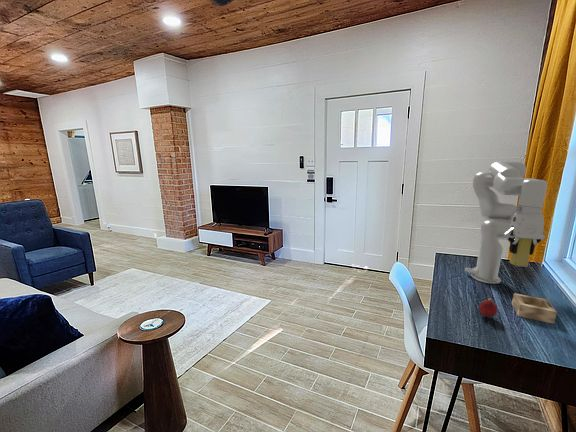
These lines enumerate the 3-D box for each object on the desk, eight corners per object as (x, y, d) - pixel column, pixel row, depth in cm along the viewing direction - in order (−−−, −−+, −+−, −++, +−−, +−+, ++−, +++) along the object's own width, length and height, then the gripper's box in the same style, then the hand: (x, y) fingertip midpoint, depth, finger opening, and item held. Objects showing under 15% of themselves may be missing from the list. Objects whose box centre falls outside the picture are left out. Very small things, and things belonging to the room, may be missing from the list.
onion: (496, 323, 106) (499, 304, 104) (478, 318, 109) (481, 299, 107) (494, 315, 111) (498, 297, 109) (477, 311, 114) (480, 293, 112)
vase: (520, 262, 118) (527, 229, 115) (532, 267, 112) (539, 233, 109) (505, 261, 118) (511, 229, 116) (516, 266, 112) (522, 232, 110)
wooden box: (518, 315, 111) (520, 303, 110) (511, 303, 121) (514, 292, 119) (554, 323, 106) (557, 311, 105) (544, 310, 116) (547, 298, 114)
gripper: (512, 211, 108) (504, 254, 112) (560, 213, 106) (550, 257, 110) (500, 208, 115) (493, 249, 119) (545, 209, 113) (536, 251, 117)
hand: (520, 252), depth 114 cm, fingers closed on vase, 5 cm apart
